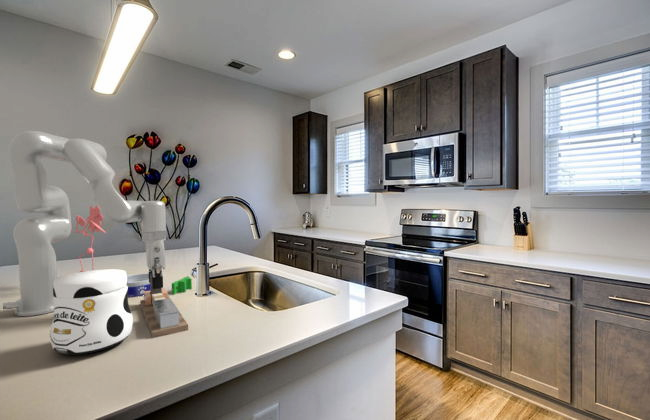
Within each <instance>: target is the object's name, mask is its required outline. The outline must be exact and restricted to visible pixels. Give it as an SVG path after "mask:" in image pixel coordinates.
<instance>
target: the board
mask: <svg viewBox="0 0 650 420" xmlns="http://www.w3.org/2000/svg"><path fill="white" fill-rule="evenodd" d="M168 298H170V297H169V295H168ZM139 303H140V304H139V305H140V307H141V309H142V312H143V315H144V318H145V321H146V323H147V326H148V329H149V331H150V334H151V337H152V338H153V339H154V338H158V337H163V336H167V335H171V334H176V333H180V332H185V331H189V323H187V320H186V319H185V318H184V317H183V316H182V313H180V312H181V311H179V326H174V327H170V328H165V329H160V327H159V325H158V322H157V320H156V318H155V316H154V309H153V304H152V302H151V304H150V305H146V304H145V302H144V299H142V300H140V302H139Z"/></svg>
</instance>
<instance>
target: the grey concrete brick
mask: <svg viewBox="0 0 650 420" xmlns="http://www.w3.org/2000/svg"><path fill="white" fill-rule="evenodd" d="M153 309H154V316H155V318H156V320H157V322H158V325H159V327H160V329H165V328H170V327H174V326H179V312H180V310H179V309H178V307H177V306H176V304H175V303H174V302H173V300H172V298H170V297H169V298H166V299H161V300H155V301H153Z"/></svg>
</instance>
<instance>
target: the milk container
mask: <svg viewBox="0 0 650 420" xmlns="http://www.w3.org/2000/svg"><path fill="white" fill-rule="evenodd" d="M84 271H85V272H80V271H79V272H74V273H73V272H72V273H70V274H65V275H62V276H59V277H58V276H57V278H56V279H55V280H54V283H53V306H54V311H53V317H52V323H51V325H50V330H49V339H50V340H49V341H50V345H51V347H52V349H53V350H54V351H55V352H56V353H59V354H61V355H67V356H68V355H69V356H76V355H77V356H78V355H86V354H91V353H95V352H100V351H103V350H106V349H110V348H112V347H114V346H116V345H118V344H120V343H122V342H123V341H124V340H126V339H127V338H128V337H129V335H130V334H131V332H132V330H133V323H134V322H133V321H134V320H133V318H134V317H133V314H132V310H131V308H130V304H129V298H128V286H127V276H128V274H127V271H125V270H124V269H114V268H110V269H108V268H107V269H94V270H93V269H92V270H84Z"/></svg>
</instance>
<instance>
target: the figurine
mask: <svg viewBox="0 0 650 420" xmlns="http://www.w3.org/2000/svg"><path fill="white" fill-rule="evenodd" d="M103 220H104V215H103V214H102V213H101V209H100V208H99V207H98V205H97V204H96V206H95V207H94V206H93V205H92V204H91V205H90V208H89V216H87V217H86V220H85V219H84V218H83V217H82V216H80V215H79V214H77V216H76V217H75V221H76V227H75V234H78V233H81V234H83V235H84V236H85V237H88V236H89V237H91V242H90V243H91V244H90V247H87V249H86V251H85V252H86V253H84V254H82V255H80V256H78V258H79V263H80V266H81V269H82V270H80V271H79V272H85V271H86V270H84V267H83V263H82V260H81V257H83V256H85V255H91V261H92V262H91V263H92V265H91V266H92V267H91V268H92V271H93V270H95V269H94V251H95V250H94V249H93V242H94V239H95V237H94V236H93V235H91V234H89V232H91V233H92V234H93V233H94V232H95V231H96V232H97V233H99V232H100V231H101V232H103V233H104V234H106V235H107V232H106V231H105V230H104V229H103V228H102V227H101V226H102V221H103ZM79 225H80V226H81V227H82V228H83V229H82V230H78V226H79ZM86 228H87V230H86ZM85 230H86V232H85Z"/></svg>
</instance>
